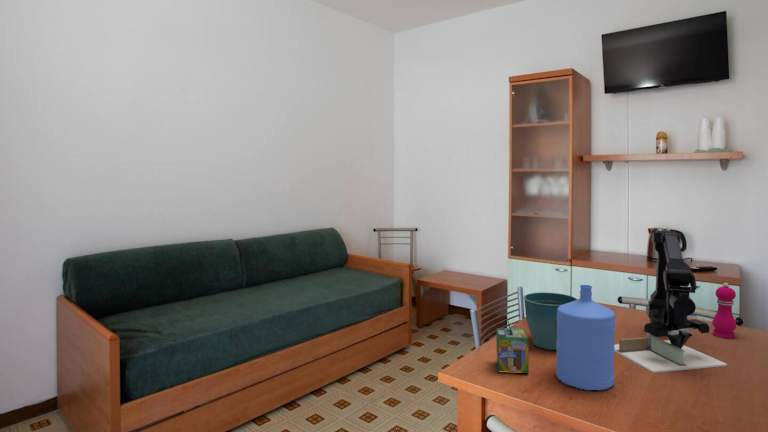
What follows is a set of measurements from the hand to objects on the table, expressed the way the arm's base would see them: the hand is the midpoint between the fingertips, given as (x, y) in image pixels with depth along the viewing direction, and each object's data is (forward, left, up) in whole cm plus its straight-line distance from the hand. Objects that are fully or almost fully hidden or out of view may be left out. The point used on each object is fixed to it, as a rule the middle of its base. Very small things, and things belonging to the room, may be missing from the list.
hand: (675, 353), depth 147 cm
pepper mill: (-16, +35, -2) cm, 38 cm away
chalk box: (-5, -54, -2) cm, 55 cm away
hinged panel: (-1, -3, -1) cm, 3 cm away
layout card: (-4, -1, -2) cm, 4 cm away
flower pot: (-21, -32, -2) cm, 38 cm away
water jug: (+7, -37, -2) cm, 38 cm away
